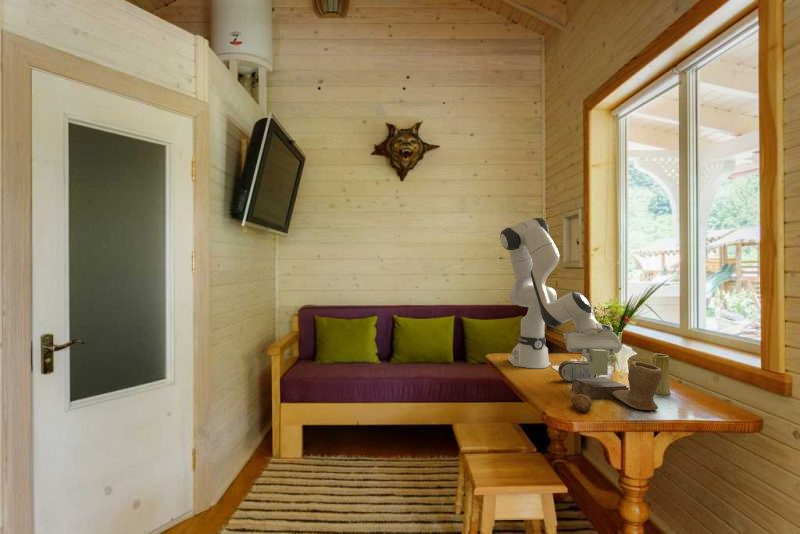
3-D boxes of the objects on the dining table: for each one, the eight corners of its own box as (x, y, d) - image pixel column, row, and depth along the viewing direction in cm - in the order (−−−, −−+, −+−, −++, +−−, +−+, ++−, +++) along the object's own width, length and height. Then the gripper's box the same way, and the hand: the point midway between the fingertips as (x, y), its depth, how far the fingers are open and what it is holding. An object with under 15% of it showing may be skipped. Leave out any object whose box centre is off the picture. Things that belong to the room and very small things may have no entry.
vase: (657, 389, 168) (658, 352, 168) (673, 393, 162) (673, 355, 162) (647, 391, 165) (648, 354, 165) (663, 395, 160) (663, 357, 160)
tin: (594, 381, 181) (595, 360, 181) (597, 383, 178) (597, 362, 178) (557, 380, 182) (557, 360, 182) (559, 382, 179) (559, 361, 179)
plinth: (572, 388, 170) (572, 378, 170) (604, 386, 172) (604, 376, 172) (593, 399, 156) (593, 388, 156) (628, 397, 158) (628, 386, 158)
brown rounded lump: (570, 401, 154) (570, 387, 154) (591, 403, 152) (591, 389, 152) (571, 413, 142) (571, 398, 142) (594, 415, 139) (594, 400, 139)
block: (588, 371, 166) (588, 348, 166) (601, 371, 166) (601, 348, 166) (594, 374, 161) (594, 350, 161) (607, 375, 161) (607, 350, 161)
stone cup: (669, 413, 141) (669, 367, 141) (632, 412, 142) (632, 367, 141) (644, 399, 156) (644, 357, 156) (611, 398, 157) (611, 357, 157)
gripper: (564, 326, 171) (573, 355, 161) (616, 326, 170) (628, 356, 160) (560, 335, 175) (568, 365, 166) (611, 336, 175) (622, 366, 165)
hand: (598, 361), depth 163 cm, fingers closed on block, 5 cm apart
